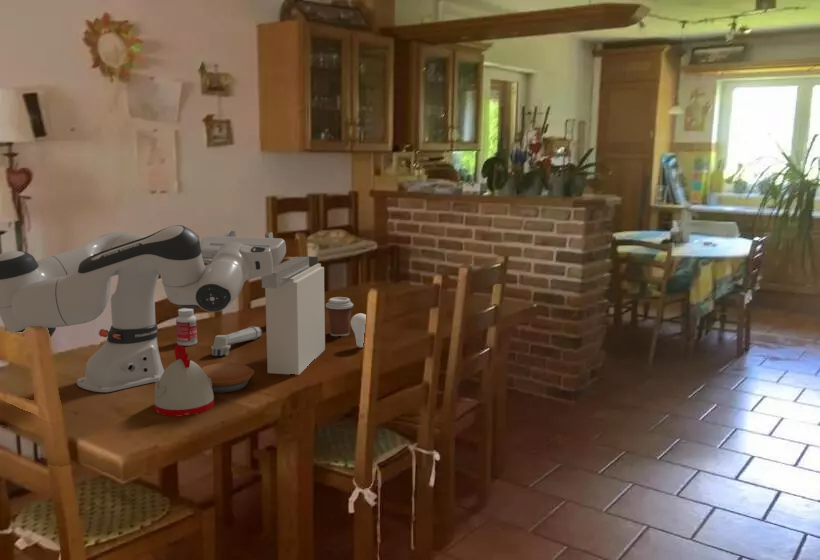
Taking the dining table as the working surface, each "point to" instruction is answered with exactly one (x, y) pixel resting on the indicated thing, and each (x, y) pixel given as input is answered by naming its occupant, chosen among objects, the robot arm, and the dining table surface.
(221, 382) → the pie
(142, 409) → the dining table surface
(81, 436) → the dining table surface
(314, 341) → the stand
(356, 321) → the lightbulb
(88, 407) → the dining table surface
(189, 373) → the kitchen timer
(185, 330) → the pill bottle
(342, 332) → the coffee cup
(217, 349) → the toothbrush head
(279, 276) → the brushed metal bar
